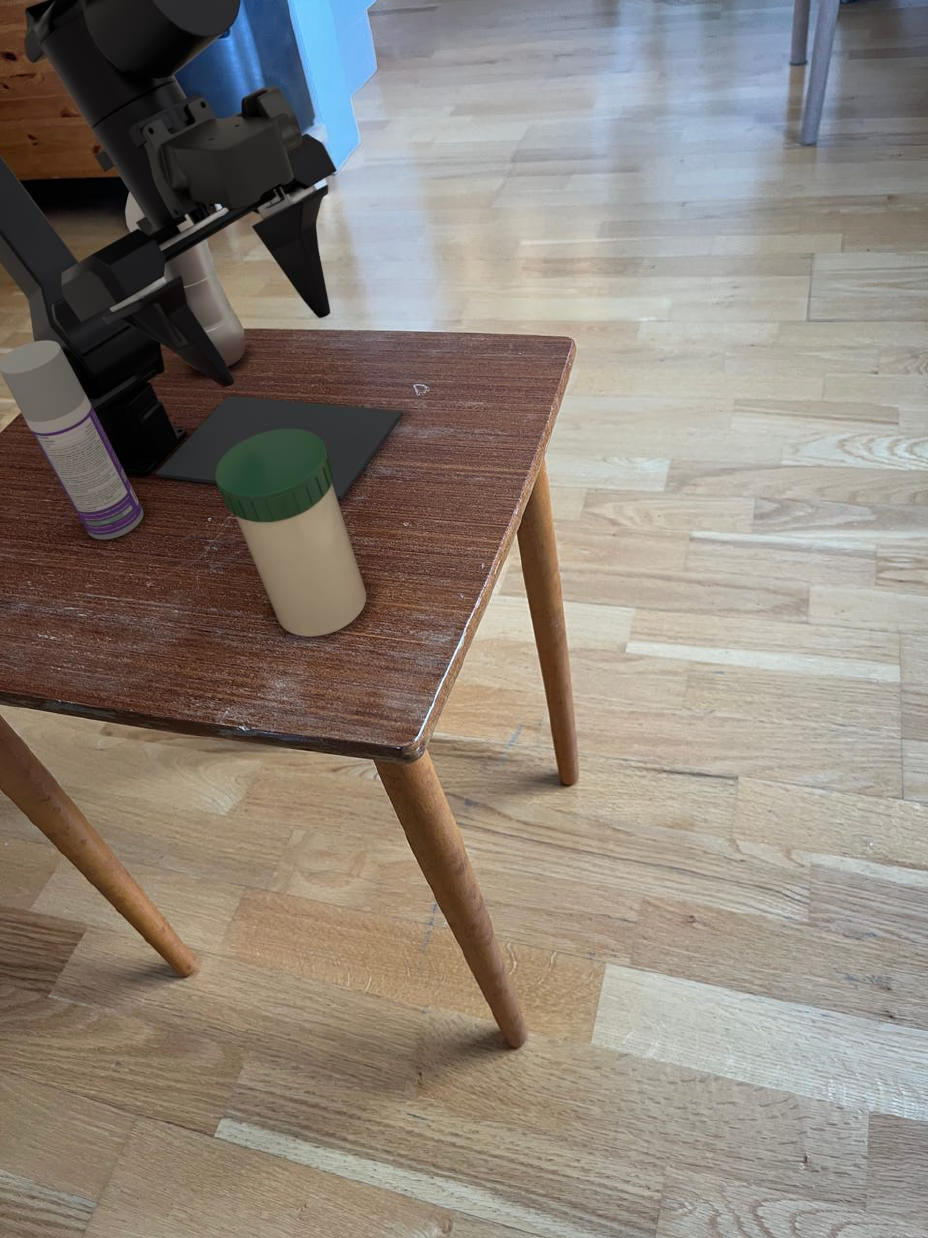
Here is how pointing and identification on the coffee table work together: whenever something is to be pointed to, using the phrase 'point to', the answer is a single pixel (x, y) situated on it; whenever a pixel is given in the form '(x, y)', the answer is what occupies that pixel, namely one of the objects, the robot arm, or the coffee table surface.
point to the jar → (308, 568)
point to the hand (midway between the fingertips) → (279, 349)
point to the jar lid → (274, 475)
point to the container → (71, 438)
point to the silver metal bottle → (201, 291)
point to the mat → (239, 418)
